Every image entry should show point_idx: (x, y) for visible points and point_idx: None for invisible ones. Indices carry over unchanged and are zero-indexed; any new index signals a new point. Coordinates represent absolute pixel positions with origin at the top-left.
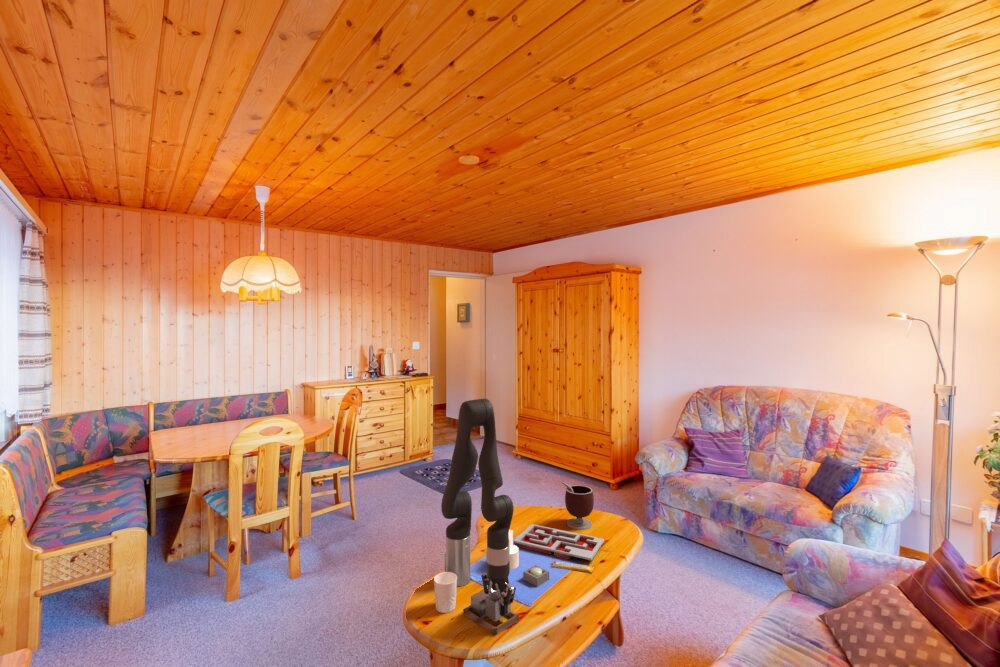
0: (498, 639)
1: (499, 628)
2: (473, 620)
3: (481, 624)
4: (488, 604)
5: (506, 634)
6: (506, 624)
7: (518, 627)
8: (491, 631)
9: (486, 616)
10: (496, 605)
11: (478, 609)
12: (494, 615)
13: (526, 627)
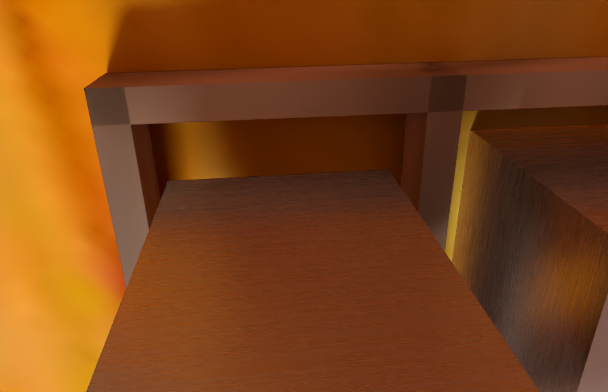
0: (18, 48)
1: (101, 161)
2: (529, 61)
3: (381, 69)
4: (370, 294)
5: (47, 184)
6: (130, 274)
7: (74, 338)
8: (182, 73)
9: (416, 197)
10: (109, 389)
11: (564, 173)
12: (178, 220)
13: (27, 386)
